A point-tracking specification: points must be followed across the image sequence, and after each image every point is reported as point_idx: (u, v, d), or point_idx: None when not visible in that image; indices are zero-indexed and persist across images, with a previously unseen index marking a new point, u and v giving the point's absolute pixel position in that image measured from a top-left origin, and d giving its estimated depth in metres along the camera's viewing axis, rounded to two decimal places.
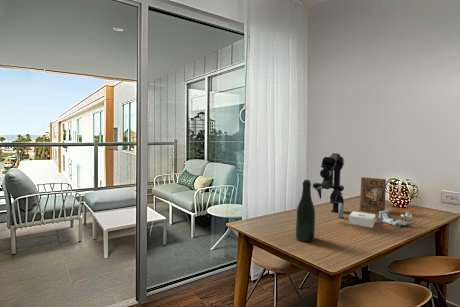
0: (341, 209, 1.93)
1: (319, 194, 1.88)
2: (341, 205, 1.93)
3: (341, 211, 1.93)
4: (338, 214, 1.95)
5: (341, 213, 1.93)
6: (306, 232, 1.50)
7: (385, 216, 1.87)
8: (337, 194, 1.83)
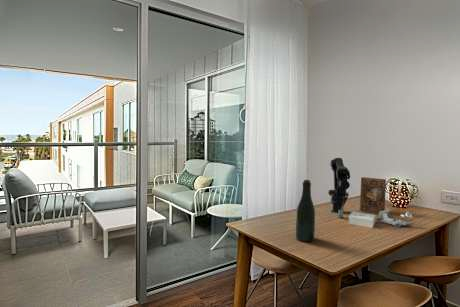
0: (341, 209, 1.93)
1: None
2: None
3: (341, 211, 1.93)
4: (338, 214, 1.95)
5: (341, 213, 1.93)
6: (306, 232, 1.50)
7: (385, 216, 1.87)
8: (340, 204, 1.89)
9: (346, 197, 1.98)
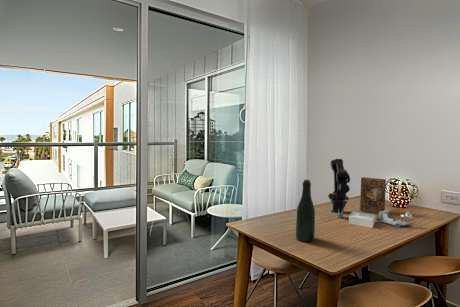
0: None
1: None
2: None
3: None
4: (338, 214, 1.95)
5: (341, 213, 1.93)
6: (306, 232, 1.50)
7: (385, 216, 1.87)
8: (341, 207, 1.91)
9: (345, 201, 1.96)
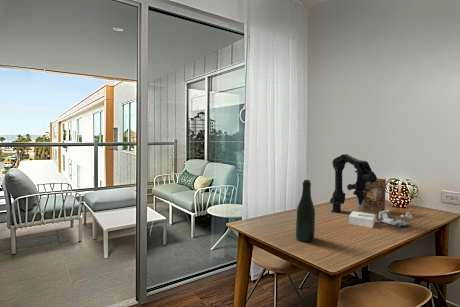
0: None
1: None
2: None
3: None
4: (358, 206, 1.85)
5: (361, 205, 1.83)
6: (306, 232, 1.50)
7: (385, 216, 1.87)
8: (361, 198, 1.81)
9: (365, 193, 1.86)
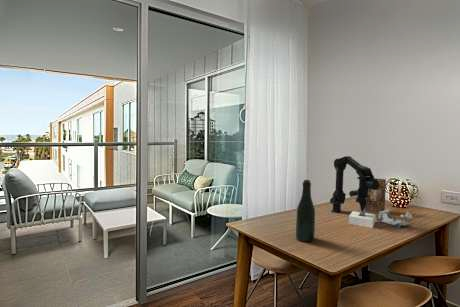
0: None
1: None
2: None
3: None
4: (360, 212, 1.84)
5: (363, 211, 1.83)
6: (306, 232, 1.50)
7: (385, 216, 1.87)
8: (363, 205, 1.81)
9: (367, 199, 1.85)
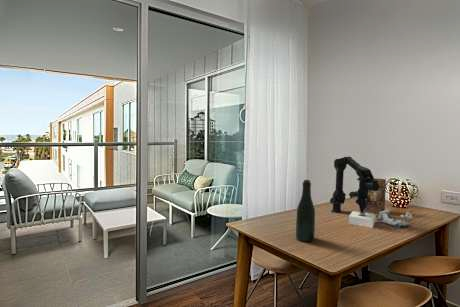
0: (363, 212, 1.83)
1: None
2: None
3: (363, 214, 1.83)
4: None
5: (363, 216, 1.83)
6: (306, 232, 1.50)
7: (385, 216, 1.86)
8: (363, 207, 1.79)
9: (367, 200, 1.87)
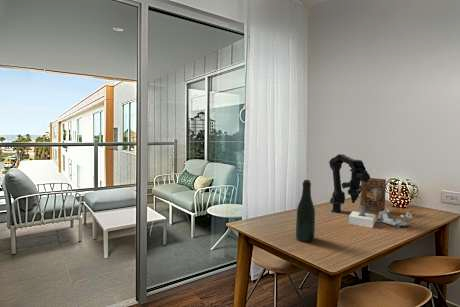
0: (362, 212, 1.83)
1: None
2: (362, 208, 1.83)
3: (362, 214, 1.83)
4: None
5: (363, 216, 1.83)
6: (306, 232, 1.50)
7: (385, 216, 1.86)
8: (354, 197, 1.84)
9: (359, 190, 1.93)
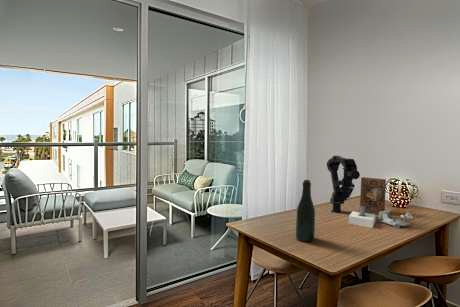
0: (363, 212, 1.83)
1: None
2: (363, 208, 1.83)
3: (363, 214, 1.83)
4: None
5: (363, 216, 1.83)
6: (306, 232, 1.50)
7: (385, 216, 1.86)
8: (346, 195, 1.89)
9: (352, 188, 1.98)
